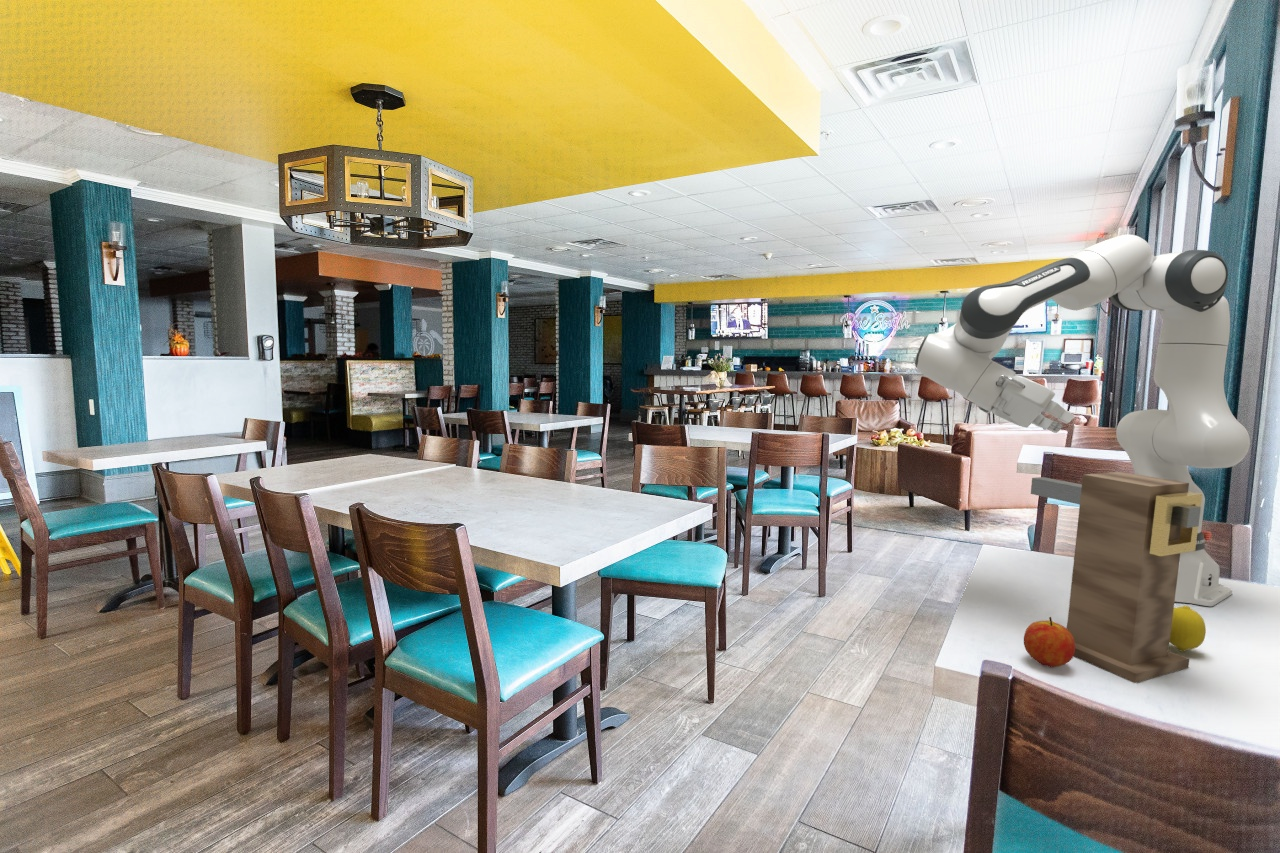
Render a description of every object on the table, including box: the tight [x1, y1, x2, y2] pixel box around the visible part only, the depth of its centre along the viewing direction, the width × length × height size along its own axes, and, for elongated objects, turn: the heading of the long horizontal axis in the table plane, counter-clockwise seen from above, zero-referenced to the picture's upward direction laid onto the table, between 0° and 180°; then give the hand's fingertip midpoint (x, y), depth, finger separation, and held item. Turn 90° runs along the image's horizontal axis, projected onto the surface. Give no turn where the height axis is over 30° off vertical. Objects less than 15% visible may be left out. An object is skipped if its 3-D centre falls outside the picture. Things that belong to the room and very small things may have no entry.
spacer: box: [1150, 492, 1202, 556], centre depth 97 cm, size 9×2×9 cm, turn 113°
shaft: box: [1030, 476, 1201, 528], centre depth 107 cm, size 3×24×3 cm, turn 23°
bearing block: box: [1066, 471, 1190, 684], centre depth 104 cm, size 14×14×30 cm
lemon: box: [1169, 605, 1207, 652], centre depth 108 cm, size 6×6×8 cm
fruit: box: [1023, 616, 1075, 668], centre depth 102 cm, size 7×7×8 cm
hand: (1065, 424), depth 119 cm, fingers open, 8 cm apart
